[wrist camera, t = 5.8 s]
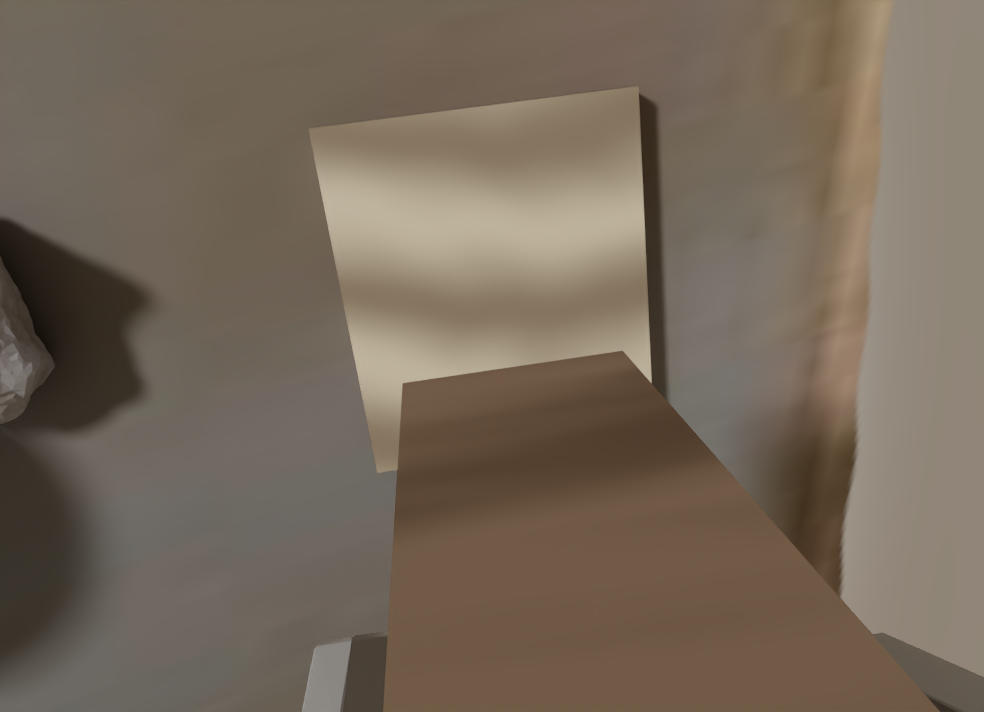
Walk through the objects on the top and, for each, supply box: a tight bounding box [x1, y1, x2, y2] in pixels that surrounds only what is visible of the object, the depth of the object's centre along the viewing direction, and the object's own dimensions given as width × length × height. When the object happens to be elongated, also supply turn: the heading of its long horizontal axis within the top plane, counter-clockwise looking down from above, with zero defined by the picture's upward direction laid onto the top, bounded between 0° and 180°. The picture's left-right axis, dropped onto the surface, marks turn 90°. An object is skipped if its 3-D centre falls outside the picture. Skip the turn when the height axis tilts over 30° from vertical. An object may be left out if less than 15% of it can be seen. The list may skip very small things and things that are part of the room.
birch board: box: [309, 86, 652, 473], centre depth 29 cm, size 14×12×1 cm
